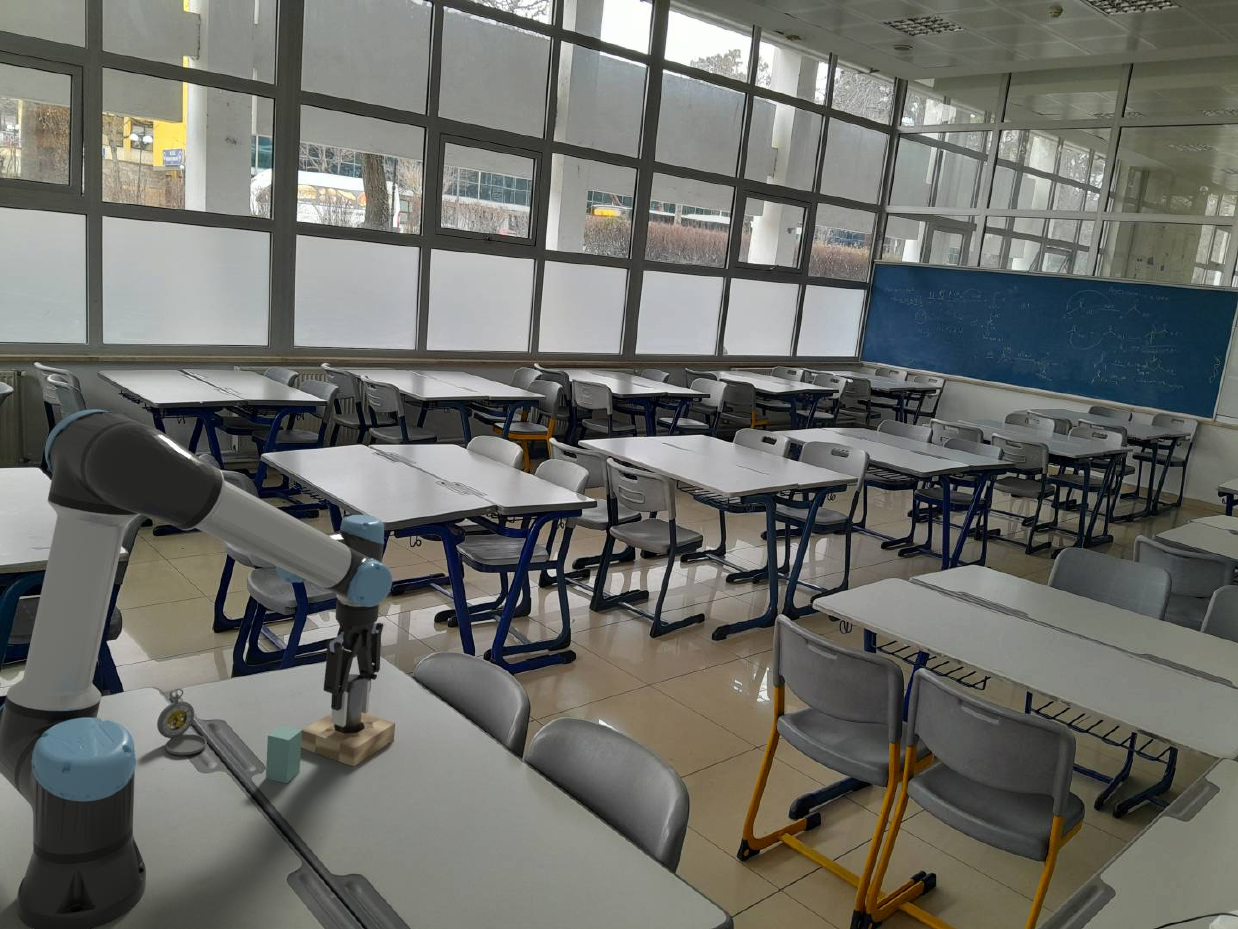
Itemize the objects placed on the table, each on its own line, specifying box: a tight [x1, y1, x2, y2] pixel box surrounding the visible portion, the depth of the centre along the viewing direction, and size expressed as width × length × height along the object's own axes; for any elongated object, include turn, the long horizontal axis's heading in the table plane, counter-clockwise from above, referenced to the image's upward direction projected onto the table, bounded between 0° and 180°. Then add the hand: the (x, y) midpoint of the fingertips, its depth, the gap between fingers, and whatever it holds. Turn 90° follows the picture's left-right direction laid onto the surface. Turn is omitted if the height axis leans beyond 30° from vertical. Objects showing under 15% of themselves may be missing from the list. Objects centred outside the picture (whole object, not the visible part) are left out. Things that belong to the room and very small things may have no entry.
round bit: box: [338, 673, 364, 734], centre depth 173 cm, size 4×4×13 cm
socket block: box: [301, 712, 396, 767], centre depth 173 cm, size 12×12×4 cm
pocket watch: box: [156, 688, 208, 756], centre depth 165 cm, size 8×8×10 cm
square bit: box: [265, 724, 303, 784], centre depth 160 cm, size 4×4×8 cm
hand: (349, 717), depth 173 cm, fingers open, 6 cm apart
